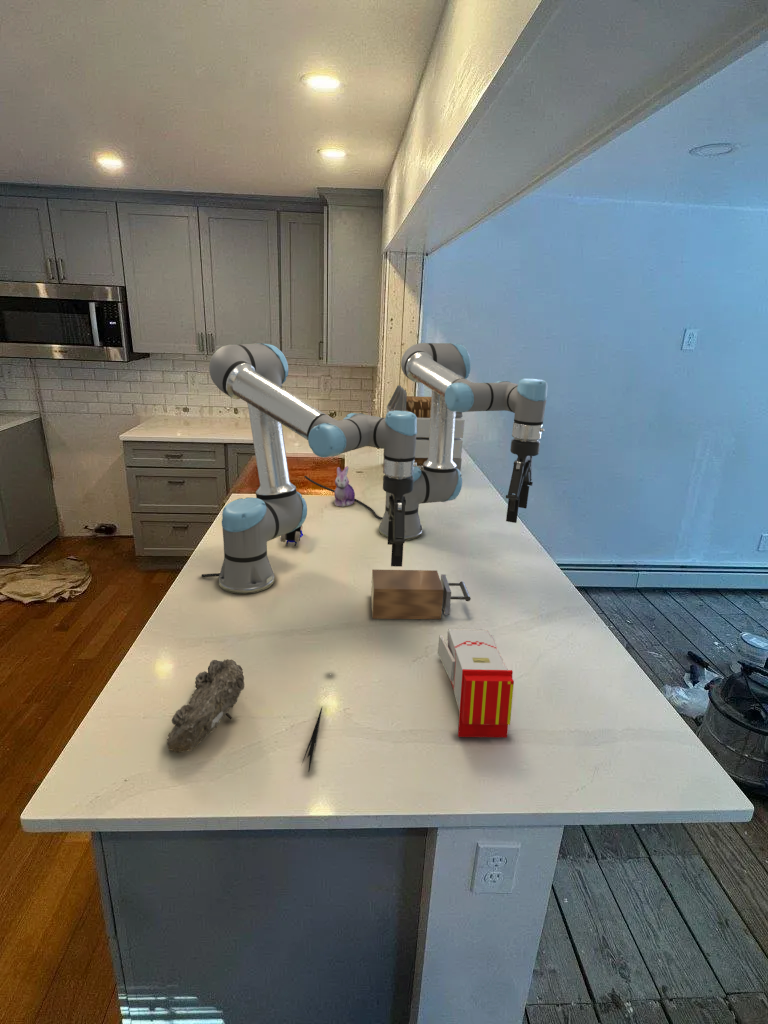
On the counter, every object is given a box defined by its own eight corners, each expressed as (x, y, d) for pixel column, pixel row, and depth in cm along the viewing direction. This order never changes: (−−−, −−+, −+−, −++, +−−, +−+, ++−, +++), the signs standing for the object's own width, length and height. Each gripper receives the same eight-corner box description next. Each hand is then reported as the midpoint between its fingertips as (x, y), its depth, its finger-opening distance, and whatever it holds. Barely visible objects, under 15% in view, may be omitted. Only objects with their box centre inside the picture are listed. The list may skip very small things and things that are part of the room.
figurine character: (300, 552, 184) (305, 530, 197) (300, 532, 181) (305, 511, 194) (280, 552, 184) (286, 530, 197) (279, 531, 180) (285, 510, 194)
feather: (331, 679, 122) (336, 673, 122) (307, 777, 96) (313, 769, 95) (324, 675, 122) (329, 669, 121) (298, 772, 95) (304, 764, 95)
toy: (488, 613, 130) (523, 677, 101) (484, 667, 133) (517, 744, 104) (435, 612, 130) (455, 676, 101) (432, 666, 133) (451, 743, 103)
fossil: (192, 660, 117) (244, 628, 112) (224, 691, 120) (276, 661, 115) (142, 746, 98) (202, 712, 93) (182, 779, 101) (242, 748, 96)
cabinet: (434, 598, 156) (437, 570, 153) (440, 619, 146) (443, 589, 143) (371, 597, 155) (372, 569, 152) (372, 618, 145) (373, 588, 142)
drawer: (462, 596, 156) (464, 574, 154) (469, 615, 147) (472, 592, 144) (383, 595, 155) (384, 573, 152) (385, 614, 145) (386, 591, 143)
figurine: (338, 508, 222) (338, 471, 216) (328, 500, 230) (328, 464, 225) (360, 505, 226) (361, 469, 221) (349, 498, 234) (350, 462, 229)
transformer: (382, 463, 289) (386, 382, 275) (445, 464, 293) (451, 384, 279) (390, 482, 257) (394, 392, 243) (460, 483, 261) (468, 394, 247)
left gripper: (419, 491, 127) (414, 576, 135) (408, 462, 151) (404, 536, 158) (386, 490, 127) (382, 575, 134) (380, 461, 150) (377, 535, 157)
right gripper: (531, 450, 138) (520, 531, 145) (548, 432, 160) (538, 504, 167) (501, 446, 141) (492, 525, 148) (521, 429, 162) (512, 499, 170)
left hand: (394, 554), depth 146 cm, fingers open, 13 cm apart
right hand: (516, 514), depth 157 cm, fingers open, 13 cm apart
